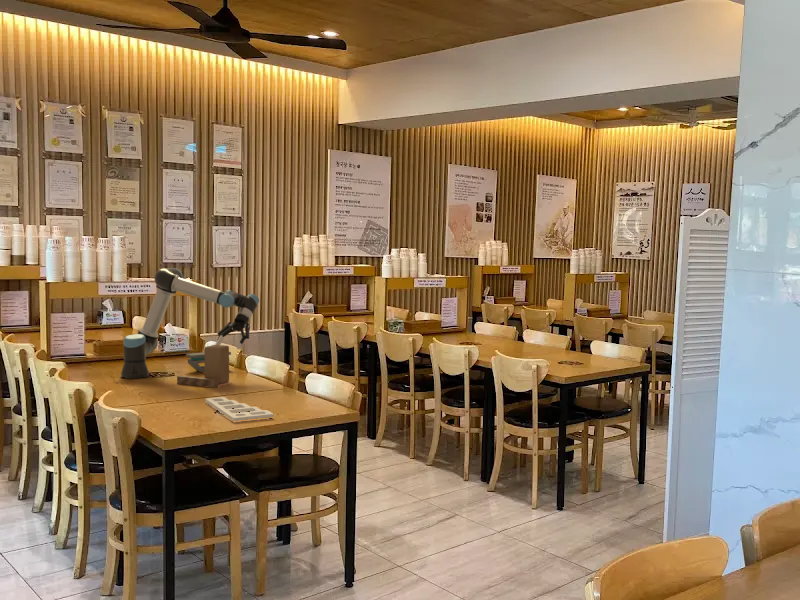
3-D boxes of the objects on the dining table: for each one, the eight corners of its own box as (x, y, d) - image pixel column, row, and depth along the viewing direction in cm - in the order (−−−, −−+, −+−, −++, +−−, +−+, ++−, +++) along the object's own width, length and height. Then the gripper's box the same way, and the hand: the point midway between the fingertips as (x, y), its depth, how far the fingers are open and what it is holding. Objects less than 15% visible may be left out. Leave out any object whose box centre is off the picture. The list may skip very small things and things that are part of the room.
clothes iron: (191, 374, 430) (191, 355, 429) (185, 372, 436) (185, 353, 435) (230, 370, 445) (230, 352, 444) (225, 368, 451) (225, 350, 451)
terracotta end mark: (199, 384, 398) (199, 383, 398) (213, 380, 409) (213, 380, 409) (219, 386, 393) (219, 385, 393) (232, 382, 404) (232, 382, 404)
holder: (205, 404, 352) (205, 398, 352) (242, 400, 361) (242, 395, 361) (233, 424, 313) (233, 418, 313) (273, 420, 322) (273, 413, 322)
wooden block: (229, 381, 405) (229, 345, 404) (219, 384, 396) (219, 347, 394) (214, 380, 408) (213, 344, 407) (203, 383, 399) (203, 346, 398)
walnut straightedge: (177, 383, 399) (177, 376, 399) (180, 382, 402) (180, 375, 402) (215, 387, 389) (214, 380, 389) (218, 386, 392) (218, 379, 392)
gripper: (264, 322, 419) (248, 352, 406) (228, 320, 428) (211, 349, 416) (258, 314, 413) (242, 344, 401) (222, 312, 423) (205, 341, 411)
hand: (227, 346), depth 408 cm, fingers open, 13 cm apart
